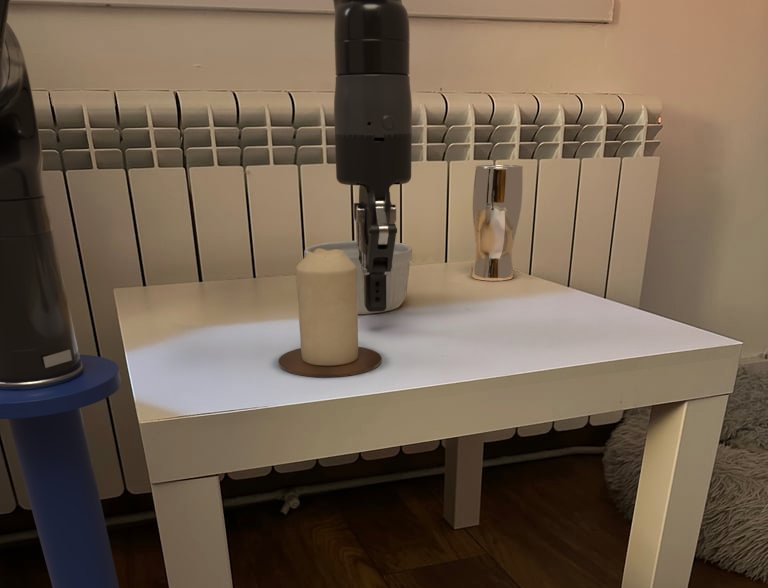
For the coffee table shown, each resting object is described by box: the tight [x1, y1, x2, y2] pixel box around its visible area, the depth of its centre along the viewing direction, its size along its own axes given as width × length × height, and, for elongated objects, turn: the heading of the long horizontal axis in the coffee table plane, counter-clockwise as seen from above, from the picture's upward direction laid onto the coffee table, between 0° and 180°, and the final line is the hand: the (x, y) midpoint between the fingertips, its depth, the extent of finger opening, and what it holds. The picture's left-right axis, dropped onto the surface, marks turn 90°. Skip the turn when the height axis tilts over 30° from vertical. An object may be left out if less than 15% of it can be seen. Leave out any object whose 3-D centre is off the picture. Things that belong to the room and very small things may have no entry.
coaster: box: [277, 346, 383, 378], centre depth 71 cm, size 10×10×1 cm
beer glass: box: [471, 164, 524, 282], centre depth 105 cm, size 7×7×15 cm
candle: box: [295, 248, 359, 366], centre depth 68 cm, size 6×6×10 cm
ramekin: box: [303, 240, 413, 315], centre depth 91 cm, size 13×13×7 cm
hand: (375, 309), depth 79 cm, fingers closed
